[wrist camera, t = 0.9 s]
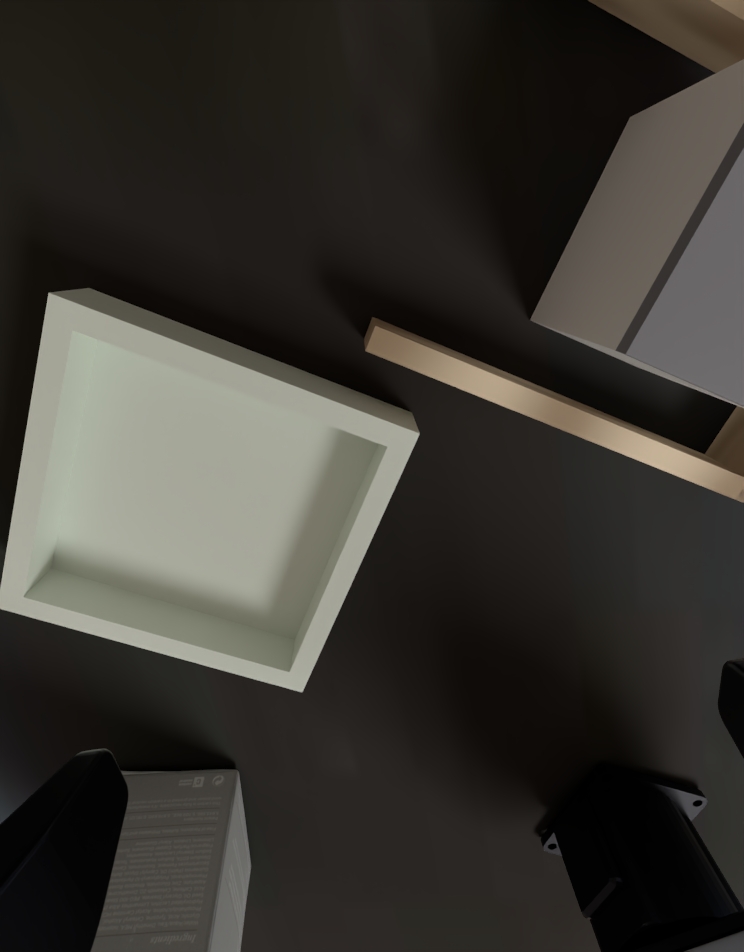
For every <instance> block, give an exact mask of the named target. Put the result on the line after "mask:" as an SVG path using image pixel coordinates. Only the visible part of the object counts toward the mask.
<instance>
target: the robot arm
mask: <svg viewBox="0 0 744 952" xmlns="http://www.w3.org/2000/svg"><path fill="white" fill-rule="evenodd" d="M718 709H719V713H720V716H721V718H722V721H723V723H724V724H725V726H726V728H727V730H728V731H729V733H730V735H731V737H732V739H733V740H734V742H735V744H736V746H737V747H738V749H739V751H740V753H741V755H742V756H743V758H744V659H737V660H730V661H727V662H726V663H725V664H724V666H723V669H722V676H721V683H720V690H719V698H718ZM127 804H128V786H127V783H126V781H125V779H124V777H123V775H122V773H121V771H120V768H119V766H118V764H117V762H116V760H115V758H114V756H113V754H112V752H111V751H109V750H108V749H104V748H102V749H95V750H88V751H82V752H80V753H78V754H76V755H75V756H74V757H72V758H71V759H70V760H69V761H68V762H67V763H66V764H65V765H64V766H63V767H62V768H61V769H59V770H58V771H57V772H56V773H55V774H54V775H53V776H52V777H51V778H50V779H49V780H48V781H46V782H45V783H44V784H43V785H42V786H41V787H40V788H39V789H38V790H37V791H36V792H35V793H34V794H32V795H31V796H30V797H29V798H28V799H27V800H26V801H25V802H24V803H23V804H22V805H21V806H19V807H18V808H17V809H16V810H15V811H14V812H13V813H12V814H11V815H10V816H9V817H8V818H7V819H5V820H4V821H3V822H2V823H1V824H0V952H91V949H92V946H93V943H94V940H95V936H96V933H97V930H98V926H99V923H100V919H101V915H102V912H103V908H104V904H105V900H106V895H107V891H108V887H109V882H110V878H111V874H112V869H113V865H114V861H115V856H116V852H117V848H118V843H119V839H120V835H121V830H122V826H123V822H124V817H125V813H126V809H127ZM706 804H707V799H706V798H705V796H704V795H703V793H702V792H701V791H700V790H698V789H694V788H691V787H687V786H683V785H680V784H676V783H673V782H669V781H666V780H662V779H659V778H655V777H651V776H648V775H644V774H641V773H637V772H634V771H630V770H627V769H623V768H619V767H616V766H612V765H609V764H602V765H599V766H597V767H596V768H595V769H594V770H593V772H592V773H591V774H590V776H589V777H588V778H587V779H586V781H585V782H584V783H583V785H582V786H581V787H580V788H579V790H578V791H577V792H576V794H575V795H574V796H573V798H572V799H571V800H570V801H569V803H568V804H567V805H566V807H565V808H564V809H563V810H562V812H561V813H560V814H559V816H558V817H557V818H556V819H555V821H554V822H553V823H552V825H551V826H550V827H549V829H548V830H547V831H546V832H545V834H544V835H543V836H542V838H541V843H542V846H543V849H544V850H545V851H546V852H549V853H553V854H557V855H561V856H562V857H563V860H564V863H565V866H566V869H567V872H568V875H569V878H570V880H571V883H572V886H573V889H574V892H575V895H576V898H577V901H578V903H579V906H580V909H581V912H582V914H583V916H584V917H585V918H587V919H590V922H591V924H592V927H593V930H594V933H595V936H596V938H597V941H598V944H599V947H600V950H601V952H744V909H743V907H742V906H741V904H740V902H739V901H738V899H737V897H736V896H735V894H734V892H733V891H732V889H731V887H730V886H729V884H728V882H727V881H726V879H725V877H724V876H723V874H722V872H721V871H720V869H719V867H718V866H717V864H716V862H715V861H714V859H713V857H712V856H711V854H710V852H709V851H708V849H707V847H706V846H705V844H704V842H703V841H702V839H701V837H700V836H699V834H698V832H697V831H696V829H695V827H694V825H693V824H692V822H691V821H692V820H693V819H694V818H695V817H696V815H697V814H698V813H699V812H700V811H701V810H702V809H703V808H704V807H705V806H706Z"/></svg>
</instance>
